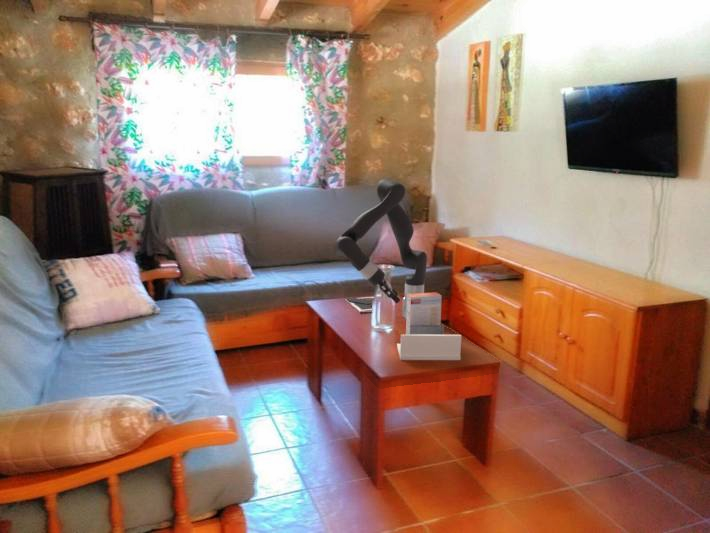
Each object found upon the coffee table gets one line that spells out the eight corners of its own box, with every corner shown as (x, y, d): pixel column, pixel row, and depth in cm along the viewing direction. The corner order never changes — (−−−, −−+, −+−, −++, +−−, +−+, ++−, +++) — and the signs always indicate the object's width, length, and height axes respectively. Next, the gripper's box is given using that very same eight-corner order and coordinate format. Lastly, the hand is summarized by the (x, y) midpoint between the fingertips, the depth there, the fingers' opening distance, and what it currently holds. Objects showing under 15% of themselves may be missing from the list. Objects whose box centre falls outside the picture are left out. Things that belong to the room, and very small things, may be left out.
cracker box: (435, 336, 259) (437, 291, 254) (440, 341, 253) (442, 295, 248) (404, 338, 256) (406, 293, 251) (409, 343, 250) (411, 297, 245)
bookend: (409, 344, 245) (409, 325, 243) (442, 344, 246) (443, 325, 244) (409, 345, 244) (410, 326, 242) (442, 345, 244) (444, 326, 242)
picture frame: (345, 303, 308) (359, 314, 289) (345, 297, 307) (359, 309, 288) (372, 300, 313) (388, 311, 294) (372, 295, 312) (389, 306, 294)
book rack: (397, 346, 246) (397, 324, 244) (453, 347, 247) (454, 324, 245) (400, 360, 233) (401, 336, 230) (460, 360, 233) (461, 336, 231)
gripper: (379, 270, 239) (406, 297, 242) (376, 262, 253) (402, 288, 256) (365, 283, 240) (392, 309, 243) (364, 274, 254) (389, 299, 257)
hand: (397, 298), depth 250 cm, fingers open, 8 cm apart
